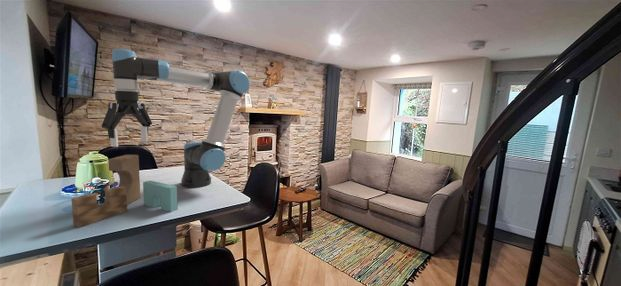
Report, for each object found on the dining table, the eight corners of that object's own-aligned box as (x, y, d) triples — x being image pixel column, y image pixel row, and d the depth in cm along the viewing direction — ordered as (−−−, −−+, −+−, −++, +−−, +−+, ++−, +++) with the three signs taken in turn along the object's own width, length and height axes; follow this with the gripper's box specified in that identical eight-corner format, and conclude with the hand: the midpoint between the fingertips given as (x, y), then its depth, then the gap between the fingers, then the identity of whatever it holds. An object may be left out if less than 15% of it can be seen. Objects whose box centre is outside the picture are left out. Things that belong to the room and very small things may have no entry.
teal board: (144, 204, 109) (143, 182, 108) (150, 202, 112) (149, 180, 111) (171, 212, 104) (170, 188, 102) (177, 209, 106) (176, 186, 105)
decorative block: (123, 207, 106) (120, 159, 104) (109, 206, 106) (107, 159, 104) (141, 197, 117) (139, 154, 114) (129, 197, 117) (126, 154, 115)
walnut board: (122, 209, 103) (121, 186, 102) (127, 211, 102) (126, 187, 101) (73, 226, 89) (71, 198, 87) (78, 227, 88) (76, 199, 86)
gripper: (145, 92, 114) (148, 139, 117) (85, 88, 90) (91, 148, 93) (159, 92, 112) (162, 140, 116) (102, 88, 88) (107, 149, 91)
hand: (130, 143), depth 104 cm, fingers open, 13 cm apart
